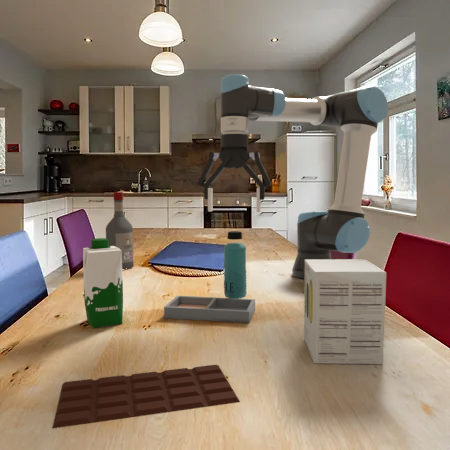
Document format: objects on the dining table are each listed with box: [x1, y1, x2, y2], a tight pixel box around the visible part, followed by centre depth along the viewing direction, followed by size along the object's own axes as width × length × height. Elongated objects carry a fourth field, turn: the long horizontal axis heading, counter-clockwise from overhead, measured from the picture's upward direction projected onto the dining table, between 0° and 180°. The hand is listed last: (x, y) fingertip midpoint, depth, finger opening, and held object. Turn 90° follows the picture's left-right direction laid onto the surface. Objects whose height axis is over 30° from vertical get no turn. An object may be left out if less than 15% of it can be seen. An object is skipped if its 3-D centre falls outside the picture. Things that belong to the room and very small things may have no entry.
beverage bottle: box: [223, 230, 248, 299], centre depth 122 cm, size 6×7×20 cm
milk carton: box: [82, 237, 124, 329], centre depth 104 cm, size 9×9×20 cm
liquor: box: [105, 191, 135, 269], centre depth 170 cm, size 9×9×30 cm
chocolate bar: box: [52, 364, 241, 429], centre depth 70 cm, size 27×14×1 cm, turn 105°
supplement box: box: [303, 258, 387, 365], centre depth 86 cm, size 13×13×18 cm
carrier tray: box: [163, 295, 256, 324], centre depth 111 cm, size 21×11×3 cm, turn 79°
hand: (234, 211), depth 120 cm, fingers open, 13 cm apart
